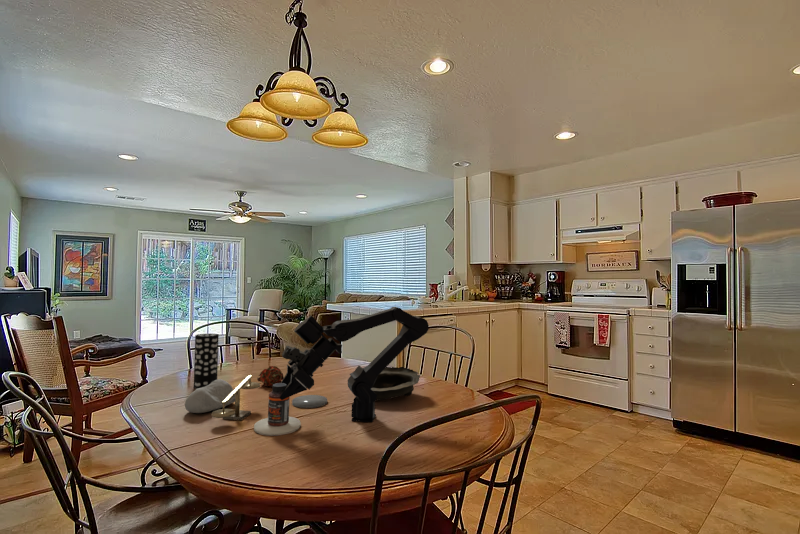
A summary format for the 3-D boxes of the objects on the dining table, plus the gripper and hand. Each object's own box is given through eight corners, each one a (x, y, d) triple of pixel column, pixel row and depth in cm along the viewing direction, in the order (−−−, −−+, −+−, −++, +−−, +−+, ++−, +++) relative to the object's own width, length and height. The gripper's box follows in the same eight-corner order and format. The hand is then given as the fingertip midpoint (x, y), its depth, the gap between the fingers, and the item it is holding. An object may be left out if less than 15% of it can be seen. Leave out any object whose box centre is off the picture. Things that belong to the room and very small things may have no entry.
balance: (262, 406, 140) (263, 373, 140) (227, 430, 118) (228, 391, 118) (245, 405, 140) (245, 372, 141) (206, 428, 119) (207, 389, 119)
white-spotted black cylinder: (193, 384, 165) (195, 333, 166) (216, 382, 169) (218, 333, 169) (193, 389, 158) (194, 336, 158) (217, 387, 161) (218, 336, 161)
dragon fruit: (279, 393, 161) (260, 392, 168) (292, 376, 167) (274, 376, 174) (267, 377, 158) (248, 377, 165) (281, 361, 164) (262, 361, 171)
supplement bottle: (264, 426, 118) (265, 386, 119) (272, 419, 124) (273, 381, 125) (284, 427, 118) (285, 387, 118) (291, 420, 124) (292, 382, 124)
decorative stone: (218, 391, 147) (229, 370, 144) (236, 411, 143) (247, 389, 141) (173, 409, 131) (184, 386, 128) (192, 431, 128) (204, 408, 125)
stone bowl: (421, 388, 166) (422, 365, 165) (417, 413, 141) (418, 386, 141) (360, 384, 168) (361, 362, 168) (346, 408, 144) (347, 382, 143)
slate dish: (331, 398, 150) (331, 396, 150) (320, 409, 138) (320, 406, 138) (299, 396, 151) (299, 394, 152) (286, 406, 140) (286, 403, 140)
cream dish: (307, 421, 127) (307, 417, 127) (289, 437, 114) (290, 433, 114) (266, 418, 128) (266, 414, 128) (245, 433, 116) (245, 430, 116)
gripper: (295, 332, 132) (258, 369, 128) (302, 341, 115) (259, 384, 111) (320, 355, 135) (284, 392, 131) (330, 367, 117) (289, 411, 113)
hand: (279, 394), depth 121 cm, fingers open, 9 cm apart
